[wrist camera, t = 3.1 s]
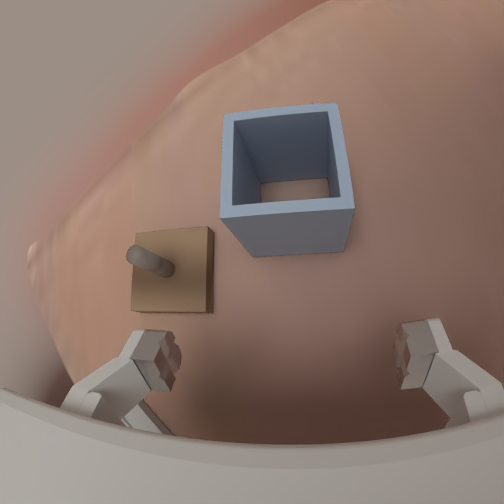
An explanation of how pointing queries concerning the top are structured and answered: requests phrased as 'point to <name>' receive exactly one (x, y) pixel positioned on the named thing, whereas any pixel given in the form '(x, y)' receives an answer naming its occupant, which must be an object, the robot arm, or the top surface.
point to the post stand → (173, 271)
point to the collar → (286, 179)
